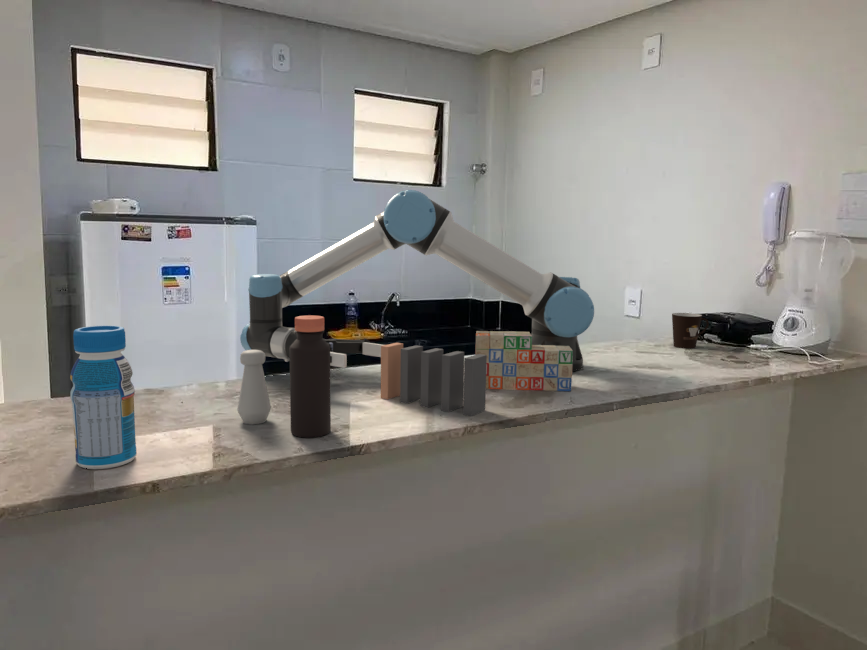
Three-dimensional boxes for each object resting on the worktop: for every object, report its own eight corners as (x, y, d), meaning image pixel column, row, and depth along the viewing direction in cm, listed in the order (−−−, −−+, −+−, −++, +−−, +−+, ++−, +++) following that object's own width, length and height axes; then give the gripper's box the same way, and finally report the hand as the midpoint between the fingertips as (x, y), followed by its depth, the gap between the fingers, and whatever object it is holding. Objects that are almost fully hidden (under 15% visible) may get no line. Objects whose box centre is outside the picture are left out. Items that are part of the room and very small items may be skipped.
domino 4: (463, 414, 127) (464, 358, 125) (477, 408, 131) (478, 354, 130) (471, 416, 126) (472, 359, 124) (485, 410, 130) (486, 355, 129)
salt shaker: (260, 414, 125) (259, 346, 123) (277, 421, 121) (275, 350, 119) (231, 420, 121) (229, 350, 119) (247, 427, 117) (245, 354, 115)
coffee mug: (672, 348, 202) (674, 315, 200) (667, 343, 210) (669, 312, 209) (713, 350, 200) (715, 317, 198) (706, 345, 208) (708, 313, 207)
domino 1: (400, 402, 135) (400, 348, 134) (415, 397, 140) (415, 345, 138) (407, 403, 134) (407, 349, 133) (422, 398, 139) (422, 346, 137)
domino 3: (441, 410, 130) (442, 354, 128) (455, 404, 134) (456, 351, 132) (448, 411, 129) (450, 356, 127) (463, 406, 133) (464, 352, 131)
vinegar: (296, 426, 118) (294, 314, 115) (334, 426, 118) (333, 315, 115) (286, 438, 111) (284, 319, 108) (326, 439, 111) (325, 320, 108)
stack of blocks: (568, 385, 153) (570, 332, 151) (571, 392, 146) (574, 337, 145) (474, 382, 154) (475, 329, 152) (474, 388, 148) (475, 334, 146)
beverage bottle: (88, 475, 94) (79, 335, 91) (65, 461, 99) (56, 328, 96) (147, 460, 100) (141, 328, 97) (123, 447, 105) (116, 322, 102)
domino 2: (420, 406, 133) (421, 351, 131) (435, 400, 137) (436, 348, 135) (427, 407, 132) (428, 352, 130) (442, 402, 136) (443, 349, 134)
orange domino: (380, 398, 138) (381, 346, 137) (395, 393, 142) (396, 342, 141) (387, 399, 137) (387, 347, 136) (402, 394, 141) (403, 343, 140)
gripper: (332, 352, 165) (401, 364, 153) (253, 369, 144) (326, 384, 132) (332, 322, 163) (401, 331, 152) (252, 335, 143) (326, 346, 131)
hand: (366, 356), depth 142 cm, fingers open, 13 cm apart
